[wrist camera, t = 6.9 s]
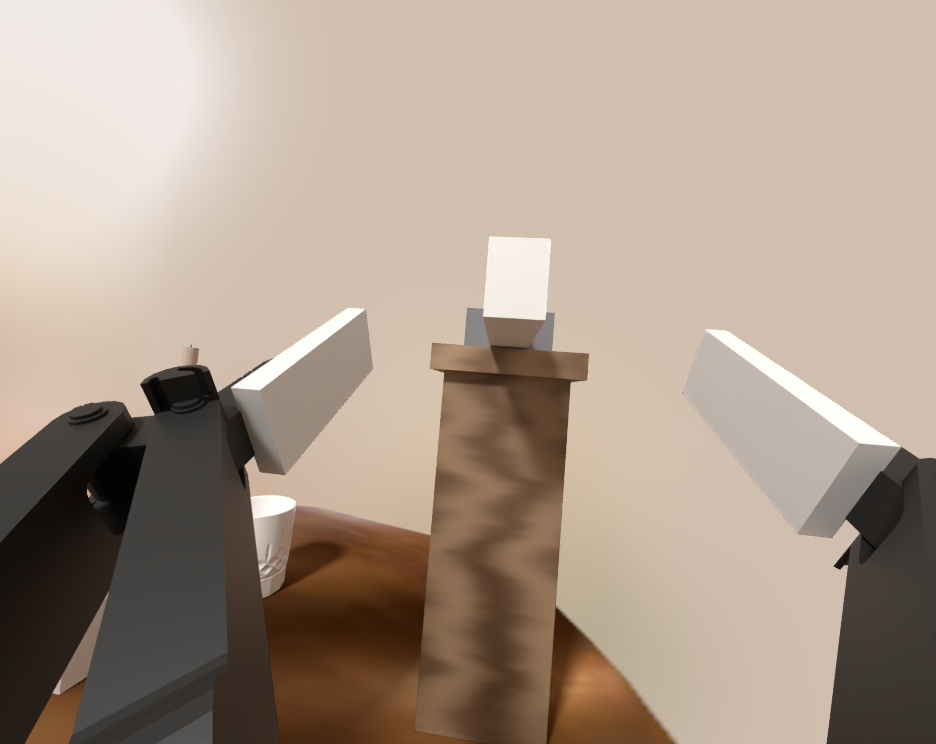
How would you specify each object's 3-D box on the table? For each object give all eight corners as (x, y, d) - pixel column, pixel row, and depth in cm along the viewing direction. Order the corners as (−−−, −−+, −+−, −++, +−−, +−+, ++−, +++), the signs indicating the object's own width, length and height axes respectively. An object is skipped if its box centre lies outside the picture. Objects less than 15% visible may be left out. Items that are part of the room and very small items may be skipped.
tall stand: (397, 741, 26) (432, 341, 27) (433, 618, 40) (455, 358, 41) (561, 771, 25) (588, 352, 26) (539, 634, 39) (558, 365, 40)
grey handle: (422, 312, 17) (431, 215, 17) (470, 362, 44) (473, 323, 44) (610, 324, 16) (616, 220, 17) (541, 367, 43) (544, 327, 43)
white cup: (201, 590, 42) (210, 505, 42) (266, 563, 48) (274, 491, 49) (236, 616, 38) (246, 522, 38) (302, 583, 44) (309, 504, 45)
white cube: (140, 642, 33) (148, 578, 34) (59, 696, 27) (69, 618, 28) (89, 630, 34) (97, 568, 34) (-1, 680, 28) (9, 605, 29)
